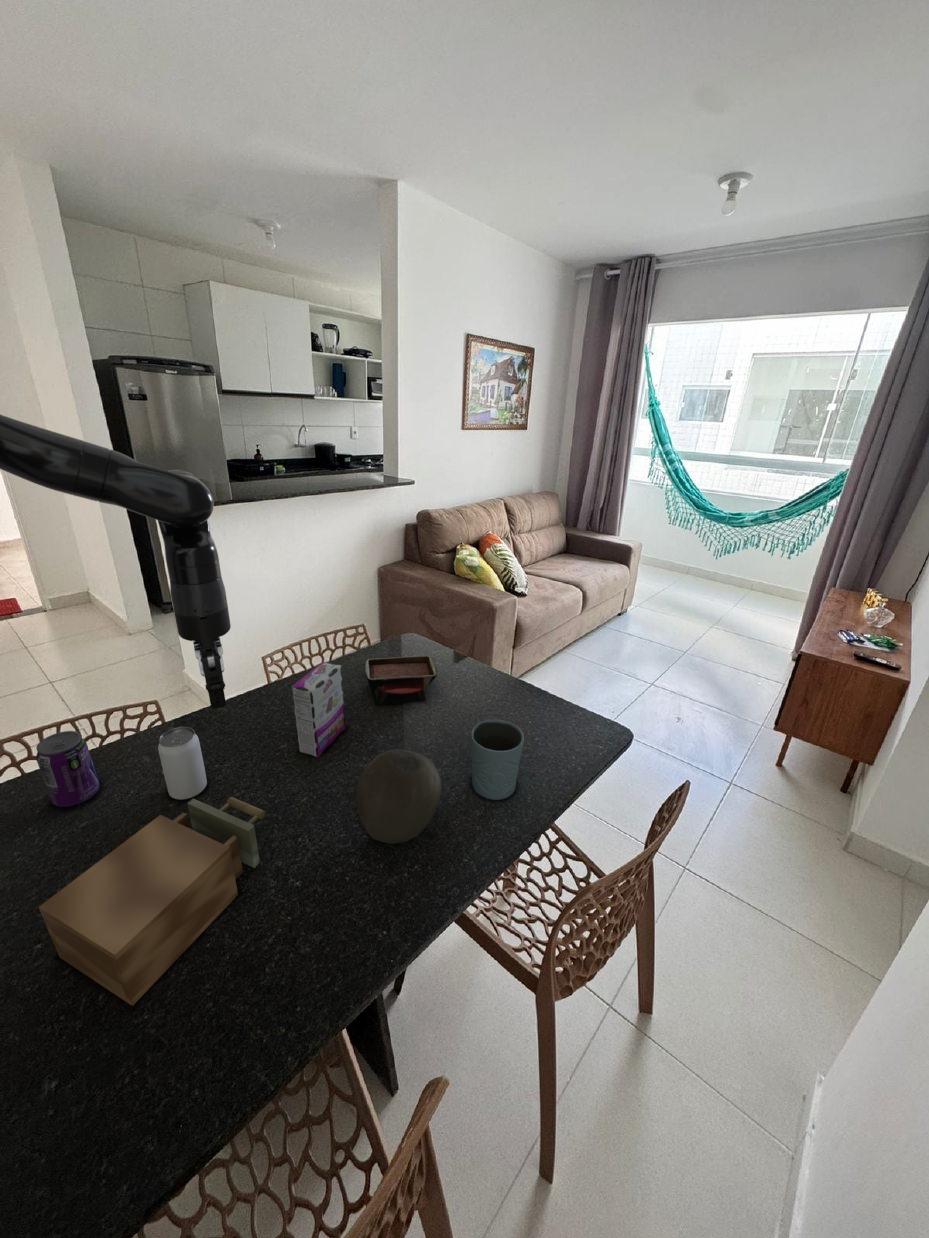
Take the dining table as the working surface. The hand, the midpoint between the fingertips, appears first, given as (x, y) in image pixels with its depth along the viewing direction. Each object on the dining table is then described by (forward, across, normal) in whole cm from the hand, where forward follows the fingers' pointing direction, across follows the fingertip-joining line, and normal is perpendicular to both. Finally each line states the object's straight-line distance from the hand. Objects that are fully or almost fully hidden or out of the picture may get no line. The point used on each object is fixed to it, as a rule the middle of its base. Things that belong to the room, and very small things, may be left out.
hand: (216, 693), depth 86 cm
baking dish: (+22, -20, +42) cm, 52 cm away
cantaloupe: (+22, +21, +24) cm, 39 cm away
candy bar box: (+22, -9, +19) cm, 31 cm away
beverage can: (+22, -12, -25) cm, 35 cm away
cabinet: (+22, +22, -13) cm, 34 cm away
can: (+22, -5, -7) cm, 24 cm away
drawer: (+21, +17, -6) cm, 28 cm away
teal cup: (+22, +19, +45) cm, 54 cm away
